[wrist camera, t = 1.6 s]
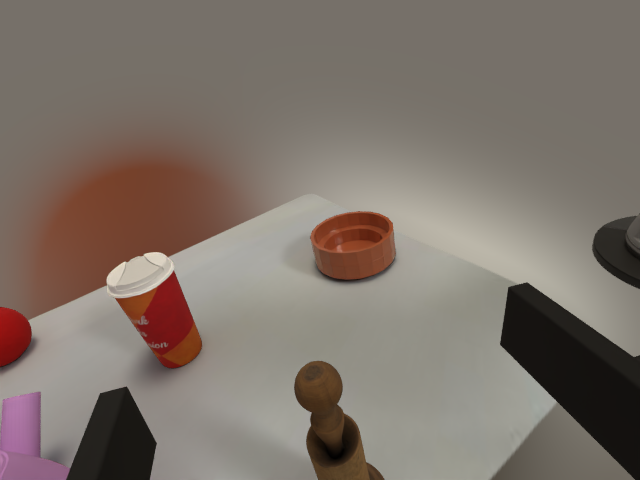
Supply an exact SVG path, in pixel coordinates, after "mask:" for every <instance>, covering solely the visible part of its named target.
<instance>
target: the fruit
mask: <svg viewBox="0 0 640 480" xmlns="http://www.w3.org/2000/svg"><path fill="white" fill-rule="evenodd" d="M31 336H32V332H31V326H30V324H29V322H28V320H27V319H26V318H25V317H24V316H23V315H22V314H20V313H19V312H17V311H15V310H12V309H9V308H4V307H0V367H1V366H4V365H7V364H9V363H11V362H13V361H14V360H16V359H17V358H18V357H20V356H21V354H22V353H23V352H24V351H25V350H26V348H27V347H28V346H29V344H30V342H31Z"/></svg>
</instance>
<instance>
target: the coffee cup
mask: <svg viewBox="0 0 640 480" xmlns="http://www.w3.org/2000/svg"><path fill="white" fill-rule="evenodd" d="M144 256H145V257H144ZM144 256H142V257H140V256H138V257H136V258H133V259H131V260H130V261H129V262H127V263H126V262H123V263H122V264H120V265H119V266H117V267H116V268H115V269H114V270H113V271H111V273H110V274H109V275H108V277H107V285H108V287H107V292H108V294H109V296H111V297H113V298H115V299H116V300H117V302H118V303H119V305H120V306H121V308H122V309H123V310H124V312H125V313H126V315H127V316H128V317H129V319H130V320H131V322H132V323H133V325H134V326H135V327H136V329H137V330H138V332H139V333H140V334H141V336H142V337H143V339H144V340H145V341H146V343H147V344H148V346H149V347H150V348H151V350H152V351H153V353H154V354H155V355H156V357H157V358H158V359H159V361H160V362H161V363H162V364H163V365H164V366H165V367H167V368H177V367H181V366H183V365H185V364H187V363H189V362H190V361H192V360H193V359H194V358H195V357H196V356H197V355H198V354H199V352H200V350H201V347H202V342H201V338H200V336H199V333H198V330H197V328H196V325H195V322H194V320H193V317H192V315H191V312H190V310H189V307H188V305H187V302H186V300H185V297H184V295H183V292H182V289H181V287H180V284H179V282H178V279H177V277H176V274H175V272H174V267H175V265H174V263H173V261H171V260H170V259H168V258H167V256H166V255H164V254H162V253H158V252H157V253H156V252H154V253H146V254H144Z"/></svg>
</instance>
